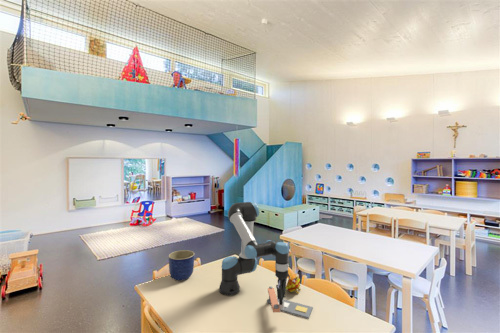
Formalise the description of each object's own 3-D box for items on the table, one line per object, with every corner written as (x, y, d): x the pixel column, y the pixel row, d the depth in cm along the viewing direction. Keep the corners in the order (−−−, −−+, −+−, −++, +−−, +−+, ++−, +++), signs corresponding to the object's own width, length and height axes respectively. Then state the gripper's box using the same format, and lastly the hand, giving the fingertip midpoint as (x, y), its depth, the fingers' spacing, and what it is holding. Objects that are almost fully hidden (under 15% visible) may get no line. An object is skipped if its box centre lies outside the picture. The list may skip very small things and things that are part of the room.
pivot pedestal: (265, 303, 166) (265, 301, 166) (268, 299, 171) (268, 298, 171) (272, 305, 164) (272, 303, 164) (275, 301, 168) (275, 299, 168)
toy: (300, 294, 174) (290, 274, 177) (288, 298, 177) (278, 278, 180) (304, 286, 186) (294, 267, 189) (293, 290, 190) (284, 271, 193)
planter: (162, 279, 199) (162, 255, 199) (182, 270, 217) (182, 248, 216) (180, 286, 188) (180, 261, 188) (199, 275, 206) (199, 253, 206)
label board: (271, 308, 160) (271, 306, 160) (277, 299, 171) (277, 297, 171) (308, 318, 150) (308, 316, 150) (312, 308, 161) (312, 306, 161)
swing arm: (267, 299, 168) (267, 285, 168) (273, 299, 168) (273, 285, 168) (272, 323, 143) (273, 307, 143) (279, 323, 143) (280, 307, 143)
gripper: (284, 275, 139) (284, 316, 140) (291, 266, 151) (290, 304, 151) (271, 272, 143) (271, 313, 143) (279, 264, 154) (279, 301, 155)
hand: (281, 308), depth 147 cm, fingers closed
